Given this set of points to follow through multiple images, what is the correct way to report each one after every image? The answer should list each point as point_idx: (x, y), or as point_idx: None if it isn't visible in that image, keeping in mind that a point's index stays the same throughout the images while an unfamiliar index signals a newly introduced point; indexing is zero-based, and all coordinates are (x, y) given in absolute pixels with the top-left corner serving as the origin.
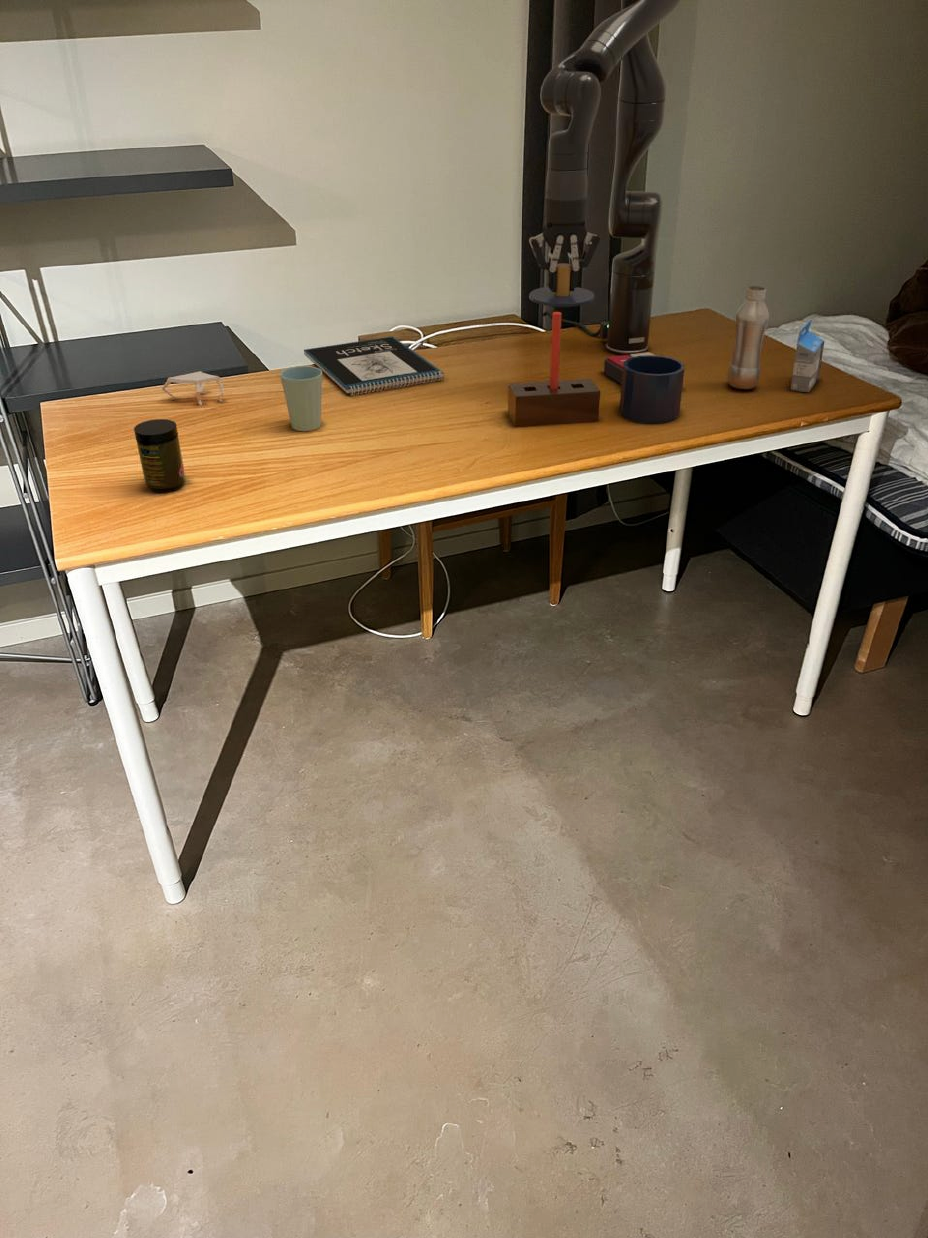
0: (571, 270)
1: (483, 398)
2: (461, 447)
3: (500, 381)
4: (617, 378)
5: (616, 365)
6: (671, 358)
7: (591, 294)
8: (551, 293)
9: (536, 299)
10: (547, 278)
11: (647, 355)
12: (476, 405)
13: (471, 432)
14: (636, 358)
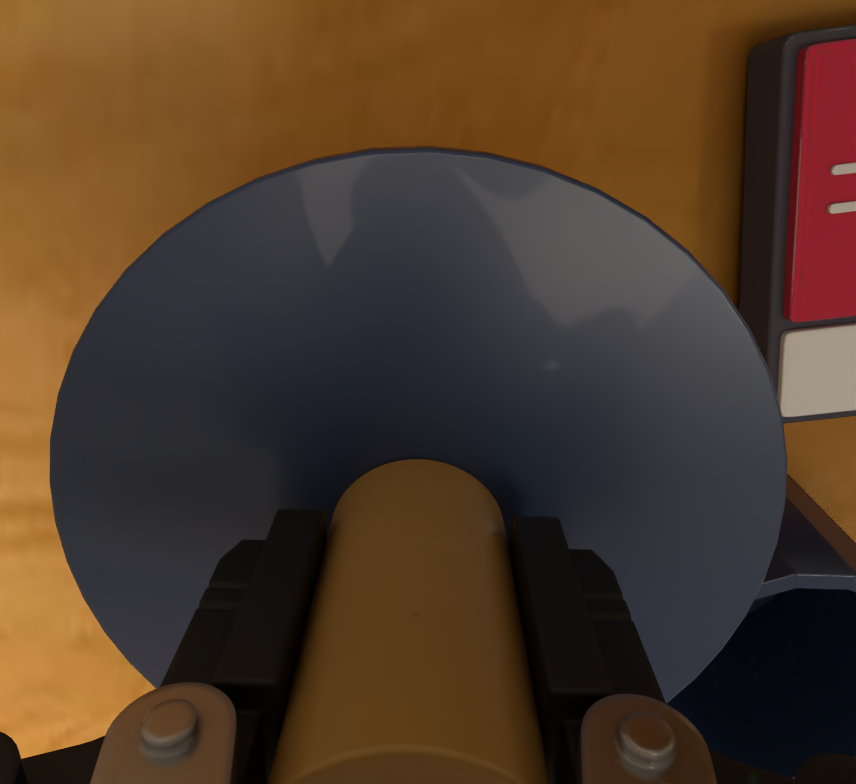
0: (555, 772)
1: (79, 279)
2: (6, 672)
3: (173, 56)
4: (748, 230)
5: (789, 186)
6: None
7: (727, 587)
8: (311, 473)
9: (117, 632)
10: (194, 622)
11: (838, 579)
12: (48, 352)
13: (35, 582)
14: (763, 594)
